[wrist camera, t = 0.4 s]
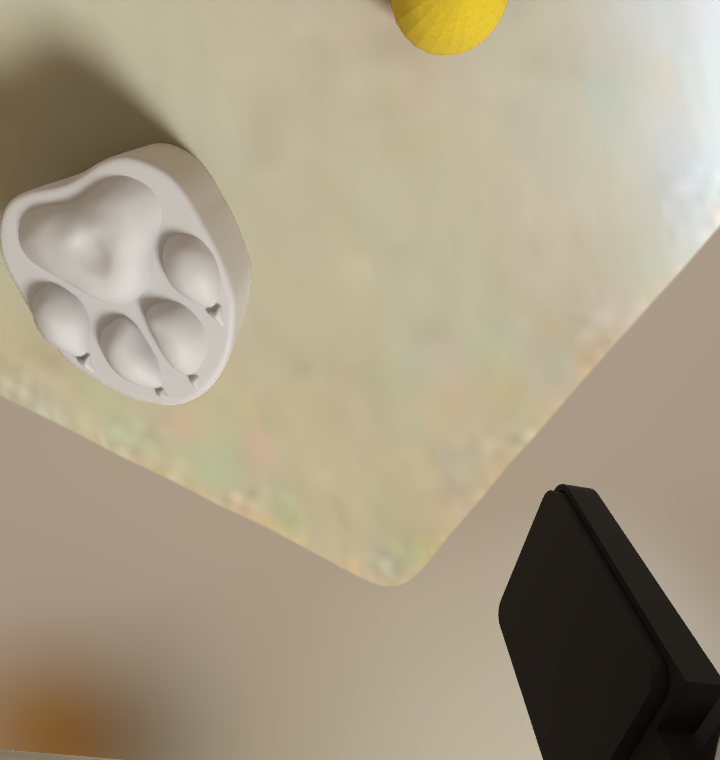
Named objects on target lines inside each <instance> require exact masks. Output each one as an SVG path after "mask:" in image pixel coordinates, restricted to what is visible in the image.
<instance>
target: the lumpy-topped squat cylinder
mask: <svg viewBox="0 0 720 760" xmlns="http://www.w3.org/2000/svg"><path fill="white" fill-rule="evenodd" d="M0 246H1V251H2V255H3V258H4V261H5V264H6V266H7V268H8V270H9V272H10V274H11V276H12V278H13V280H14V282H15V284H16V286H17V287H18V289H19V291H20V293H21V295H22V297H23V299H24V301H25V303H26V304H27V306H28V308H29V309H30V311H31V313H32V314H33V317H34V321H35V323H36V326H37V328H38V330H39V332H40V333H41V335H42V336H43V337H44V339H45V340H46V341H47V342H48V343H49V344H51V345H52V346H54V347H56V348H57V349H58V350H59V352H60V353H61V354H62V355H63V356H64V357H65V358H66V359H67V360H68V361H69V362H70V363H72V364H73V365H74V366H76V367H77V368H79V369H80V370H82V371H83V372H84V373H86V374H87V375H89V376H90V377H92V378H94V379H95V380H97V381H98V382H100V383H102V384H103V385H105V386H107V387H109V388H110V389H112V390H114V391H116V392H118V393H120V394H123V395H125V396H128V397H131V398H134V399H138V400H142V401H146V402H151V403H156V404H164V405H174V404H181V403H185V402H188V401H190V400H193V399H195V398H197V397H199V396H200V395H202V394H203V393H204V392H206V391H207V390H208V389H209V388H210V387H211V386H212V385H213V384H214V383H215V381H216V380H217V379H218V377H219V376H220V374H221V373H222V371H223V369H224V367H225V365H226V364H227V362H228V359H229V357H230V354H231V352H232V349H233V347H234V344H235V341H236V339H237V336H238V333H239V331H240V328H241V325H242V323H243V320H244V317H245V315H246V311H247V307H248V302H249V295H250V286H251V261H250V257H249V254H248V251H247V248H246V245H245V242H244V240H243V237H242V234H241V232H240V230H239V227H238V225H237V223H236V220H235V218H234V216H233V214H232V212H231V210H230V208H229V206H228V204H227V202H226V200H225V199H224V197H223V195H222V193H221V192H220V190H219V188H218V186H217V184H216V182H215V181H214V179H213V177H212V176H211V174H210V173H209V171H208V170H207V169H206V168H205V166H204V165H203V164H202V163H201V162H200V161H199V160H198V159H197V158H196V157H194V156H193V155H192V154H190V153H189V152H187V151H185V150H184V149H182V148H180V147H177V146H175V145H172V144H167V143H155V144H151V145H147V146H144V147H141V148H137V149H134V150H131V151H127V152H124V153H121V154H119V155H115V156H112V157H109V158H107V159H105V160H103V161H101V162H99V163H97V164H95V165H94V166H93V167H91V168H89V169H88V170H86V171H85V172H83V173H79V174H76V175H73V176H70V177H67V178H64V179H61V180H58V181H55V182H52V183H49V184H46V185H43V186H40V187H37V188H34V189H31V190H28V191H25V192H23V193H21V194H19V195H17V196H16V197H15V198H13V199H12V200H11V201H10V202H9V204H8V205H7V206H6V208H5V210H4V213H3V215H2V219H1V225H0Z"/></svg>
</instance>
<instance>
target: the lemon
mask: <svg viewBox="0 0 720 760" xmlns="http://www.w3.org/2000/svg"><path fill="white" fill-rule="evenodd" d="M507 1H508V0H391V5H392V10H393V13H394V16H395V19H396V23H397V24H398V26H399V28H400V29H401V31H402V33H403V34H404V36H405V37H406V38H407V39H408V40H409V41H410V42H411V43H412V44H413V45H414V46H416V47H418V48H419V49H421V50H423V51H425V52H427V53H431V54H435V55H440V56H445V55H457V54H459V53H462V52H465V51H468V50H470V49H472V48H473V47H475V46H476V45H478V44H479V43H480V42H482V41H483V40H484V39H485V38H486V37H487V36H488V35H489V34H490V33H491V32H492V30H493V29H494V28H495V27H496V25H497V24H498V22H499V20H500V18H501V16H502V15H503V13H504V11H505V7H506V4H507Z"/></svg>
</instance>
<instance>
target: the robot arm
mask: <svg viewBox="0 0 720 760" xmlns="http://www.w3.org/2000/svg"><path fill="white" fill-rule="evenodd" d="M498 614H499V615H498V616H499V624H500V627H501V630H502V633H503V636H504V640H505V643H506V646H507V649H508V652H509V655H510V658H511V661H512V664H513V668H514V670H515V674H516V676H517V680H518V683H519V686H520V689H521V692H522V695H523V698H524V702H525V705H526V708H527V711H528V714H529V717H530V720H531V723H532V726H533V730H534V733H535V736H536V739H537V742H538V745H539V748H540V751H541V754H542V757H543V760H720V675H719V674H718V672H717V671H716V669H715V668H714V666H713V665H712V663H711V662H710V660H709V659H708V657H707V656H706V654H705V653H704V651H703V650H702V648H701V647H700V645H699V644H698V642H697V641H696V639H695V638H694V636H693V635H692V633H691V632H690V630H689V629H688V627H687V626H686V624H685V623H684V621H683V620H682V618H681V617H680V615H679V614H678V613H677V611H676V610H675V608H674V607H673V605H672V604H671V602H670V601H669V599H668V598H667V596H666V595H665V593H664V592H663V590H662V589H661V587H660V586H659V584H658V583H657V581H656V580H655V578H654V577H653V575H652V574H651V572H650V571H649V569H648V568H647V567H646V565H645V563H644V562H643V560H642V559H641V558H640V556H639V555H638V553H637V552H636V550H635V549H634V547H633V546H632V544H631V543H630V541H629V540H628V539H627V537H626V535H625V534H624V532H623V531H622V529H621V528H620V526H619V525H618V523H617V522H616V521H615V519H614V517H613V516H612V514H611V513H610V511H609V510H608V508H607V507H606V506H605V504H604V502H603V501H602V499H601V498H600V497H599V495H598V493H597V492H596V491H595V490H593V489H590V488H584V487H578V486H571V485H565V484H561V485H558V486H557V487H556V488H555V490H554V491H552V490H550V491H547V493H546V494H545V495H544V497H543V499H542V502H541V504H540V507H539V509H538V512H537V514H536V516H535V519H534V521H533V524H532V526H531V528H530V531H529V533H528V536H527V538H526V541H525V543H524V545H523V548H522V550H521V553H520V555H519V558H518V560H517V562H516V565H515V567H514V570H513V572H512V575H511V577H510V580H509V582H508V584H507V587H506V589H505V592H504V594H503V596H502V599H501V602H500V605H499V613H498ZM0 760H117V759H105V758H93V757H81V756H69V755H68V756H67V755H57V754H45V753H32V752H20V751H8V750H0Z"/></svg>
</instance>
